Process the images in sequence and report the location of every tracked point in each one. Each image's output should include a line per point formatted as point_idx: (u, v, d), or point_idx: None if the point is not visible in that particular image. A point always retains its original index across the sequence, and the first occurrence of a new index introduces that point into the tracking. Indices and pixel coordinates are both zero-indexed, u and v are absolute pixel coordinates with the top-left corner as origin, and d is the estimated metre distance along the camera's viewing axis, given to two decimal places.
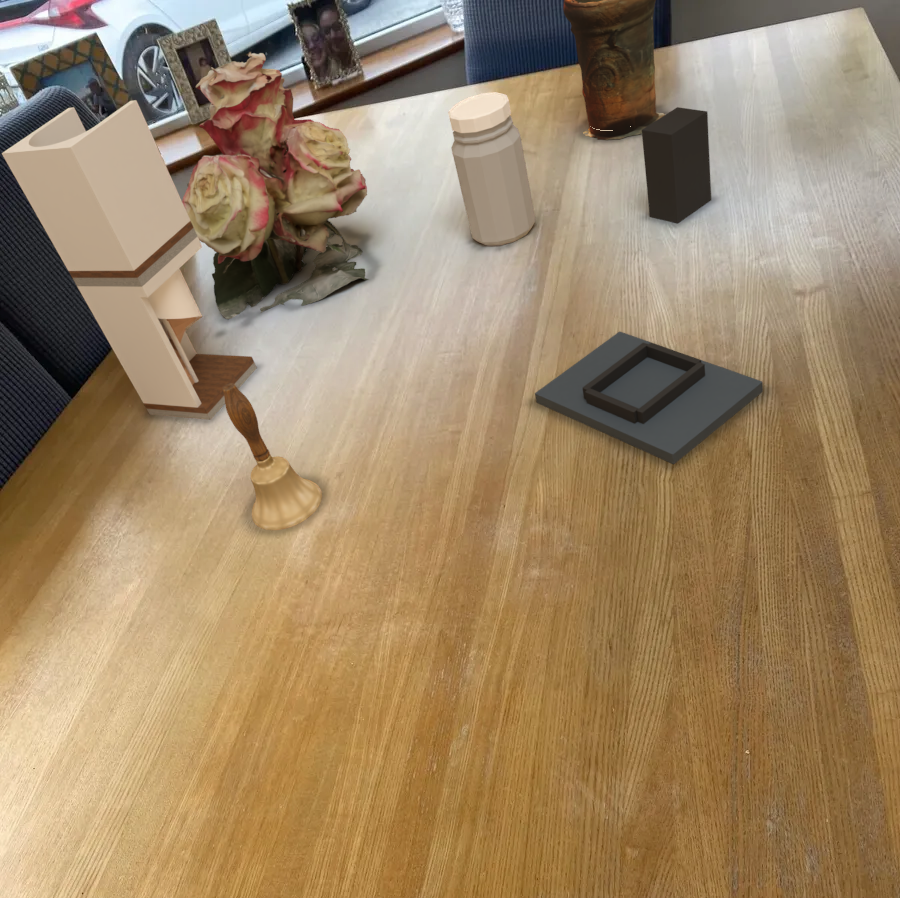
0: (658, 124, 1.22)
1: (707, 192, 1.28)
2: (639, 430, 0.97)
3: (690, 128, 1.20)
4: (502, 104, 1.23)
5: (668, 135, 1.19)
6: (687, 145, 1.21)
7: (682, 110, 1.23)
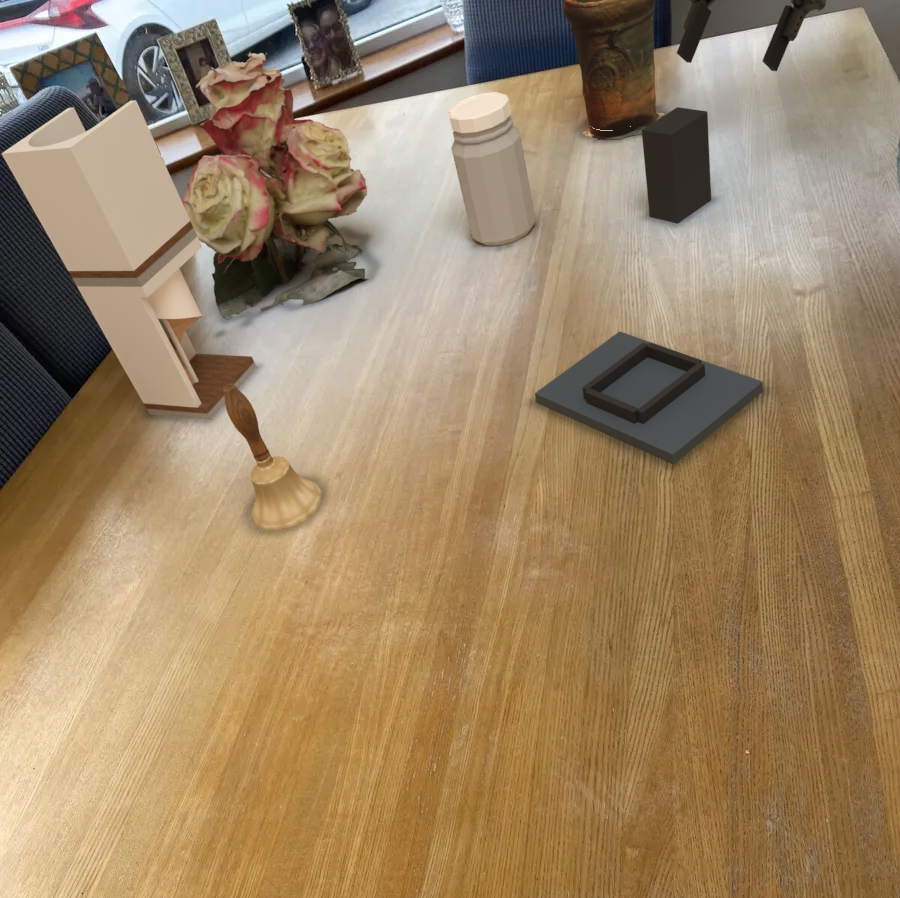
0: (658, 124, 1.22)
1: (707, 192, 1.28)
2: (639, 430, 0.97)
3: (690, 128, 1.20)
4: (502, 104, 1.23)
5: (668, 135, 1.19)
6: (687, 145, 1.21)
7: (682, 110, 1.23)
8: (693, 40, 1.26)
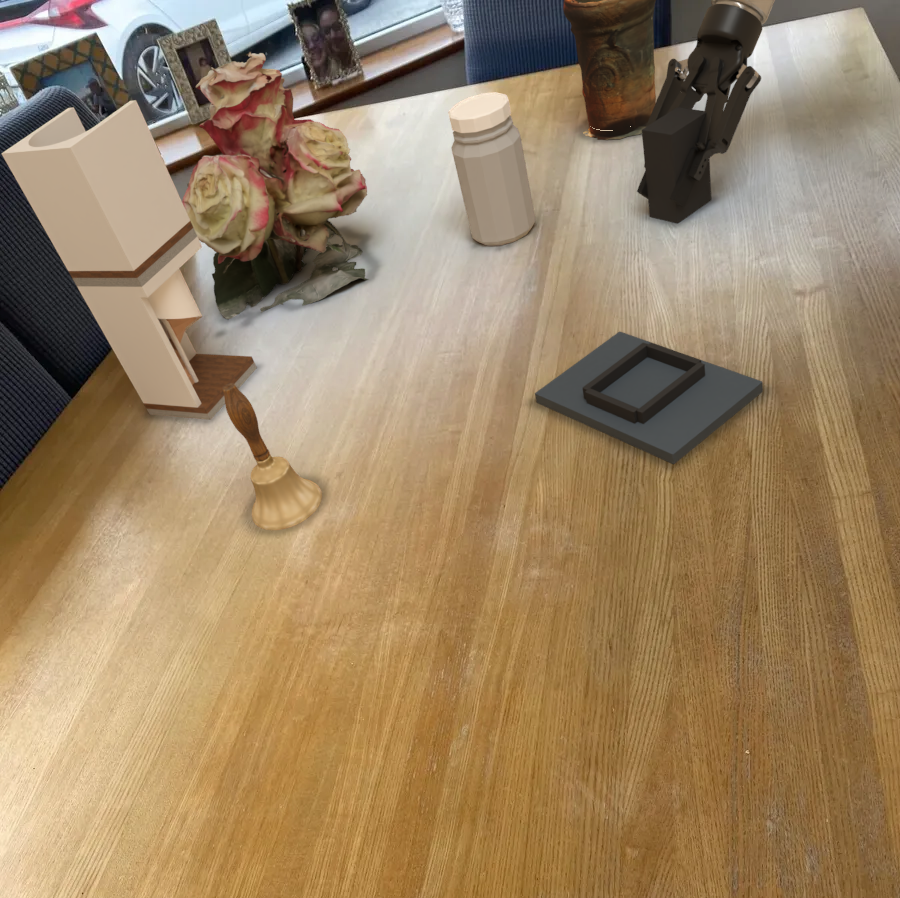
0: (658, 124, 1.22)
1: (707, 192, 1.28)
2: (639, 430, 0.97)
3: (690, 128, 1.20)
4: (502, 104, 1.23)
5: (668, 135, 1.19)
6: (687, 145, 1.21)
7: (682, 110, 1.23)
8: None
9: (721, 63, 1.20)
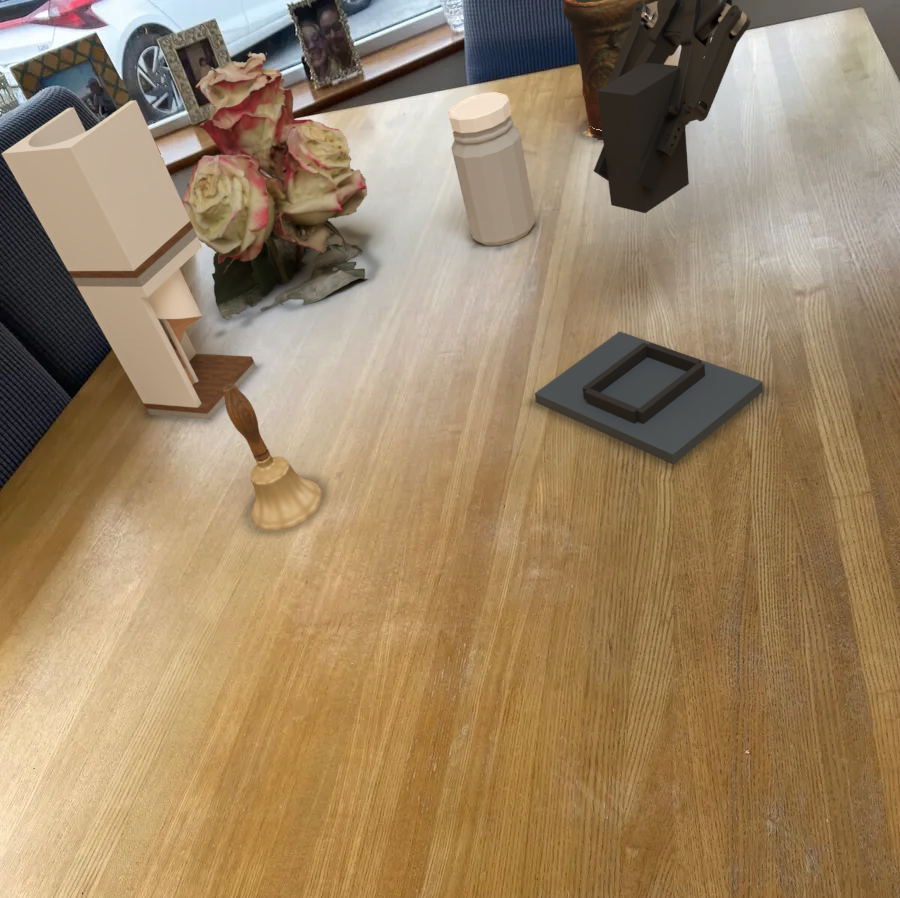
0: (618, 83, 0.95)
1: (683, 172, 1.01)
2: (639, 430, 0.97)
3: (659, 87, 0.93)
4: (502, 104, 1.23)
5: (629, 97, 0.92)
6: (655, 109, 0.94)
7: (650, 66, 0.96)
8: None
9: (699, 3, 0.93)
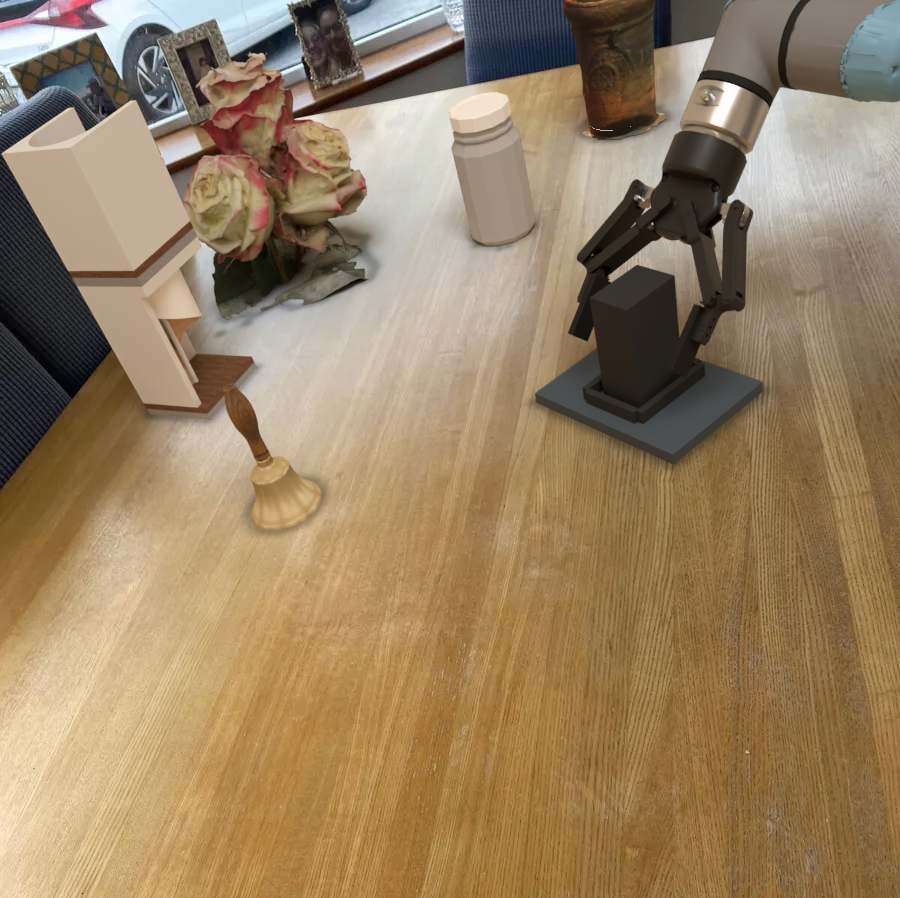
0: (611, 290, 0.94)
1: None
2: (639, 430, 0.97)
3: (652, 298, 0.92)
4: (502, 104, 1.23)
5: (622, 310, 0.91)
6: (649, 318, 0.93)
7: (643, 270, 0.95)
8: (589, 317, 1.01)
9: (693, 204, 0.91)
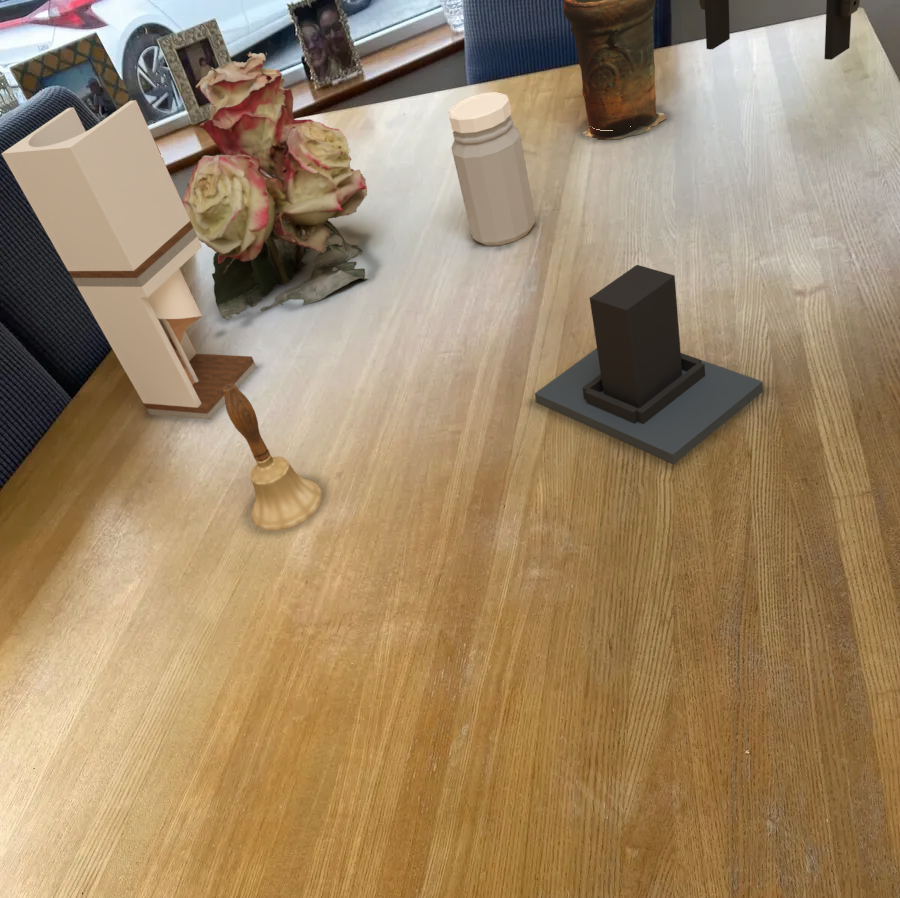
0: (611, 290, 0.94)
1: (677, 367, 1.00)
2: (639, 430, 0.97)
3: (652, 298, 0.92)
4: (502, 104, 1.23)
5: (622, 310, 0.91)
6: (649, 318, 0.93)
7: (643, 270, 0.95)
8: (720, 18, 0.94)
9: None
